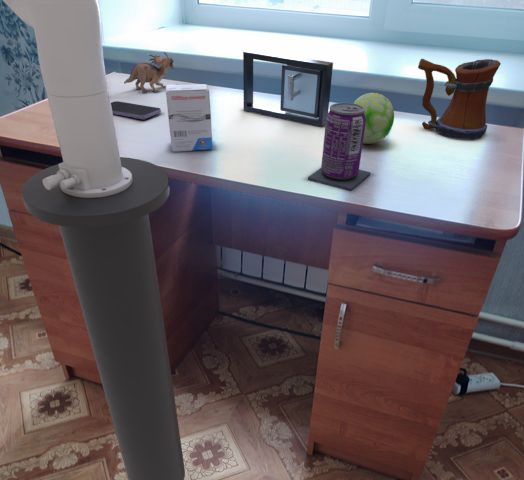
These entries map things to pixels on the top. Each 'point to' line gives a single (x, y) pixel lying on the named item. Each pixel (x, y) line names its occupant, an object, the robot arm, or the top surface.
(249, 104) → the window frame
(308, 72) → the sash
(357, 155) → the beverage can
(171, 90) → the ink box
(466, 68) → the mug
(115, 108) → the smartphone
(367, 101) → the decorative ball
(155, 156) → the top surface
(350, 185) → the coaster
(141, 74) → the dinosaur figurine
